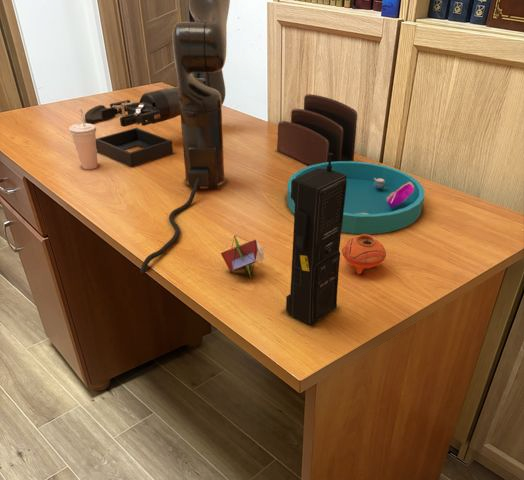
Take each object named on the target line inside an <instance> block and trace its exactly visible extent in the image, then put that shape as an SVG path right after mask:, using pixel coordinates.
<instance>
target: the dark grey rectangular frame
mask: <svg viewBox="0 0 524 480" xmlns="http://www.w3.org/2000/svg"><path fill="white" fill-rule="evenodd" d="M135 147H140V149H137V150H134V151H128V150H129V149H132V148H135ZM173 149H174V148H173V141H172V140H171V139H169V138H165V137H162V136H160V135H157V134H154V133H152V132H149V131H147V130H144V129H141V128H138V127H134V128H130V129H126V130H123V131H119V132H116V133H111V134H108V135H105V136H100V137H98V138H97V137H96V151H97V154H98V153H99V154H101V155H103V156H106V157H108V158H110V159H112V160H115V161H116V162H119V163H120V164H123V165H126V166H128V167H130V168H134V167H137V166H140V165H143V164H146V163H148V162H151V161H155V160H159V159H160V158H164V157H167V156H170V155H173V154H174V150H173Z"/></svg>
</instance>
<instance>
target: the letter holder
mask: <svg viewBox="0 0 524 480" xmlns="http://www.w3.org/2000/svg"><path fill="white" fill-rule="evenodd" d="M357 122H358V113H357V110H356V109H354V108H352V107H351V106H349V105H347V104H345V103H343V102H341V101H338V100H335V99H332V98H329V97H326V96H322V95H317V94H310V93H307V94H305V95H304V97H303V109H302V108H293V109H292V110H291V112H290V121H285V120H281V121H278V124H277V140H276V151H278V152H280V153H282V154H284V155H286V156H288V157H291V158H293V159H295V160H297V161H299V162H301V163H303V164H305V165H307V166H311V165H316V164H320V163H326V162H329V155H328V153H333V155H331V162H336V161H355V149H356V148H355V147H356V137H357V125H358V123H357Z"/></svg>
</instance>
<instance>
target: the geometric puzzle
mask: <svg viewBox="0 0 524 480" xmlns="http://www.w3.org/2000/svg"><path fill="white" fill-rule="evenodd" d="M237 238H239V236H238V234H237V235H236V234H234V236H233V238H231V239H230V241H232V244H231V248H230V249H228V250H225V251H224V250H222V252H220V254H221V257H222V259H223V261H224V263H225V265H226V267H227V269H228V271H229V273H233V274H235V272H236V271H237V270H240V269H242V268H246V271H247V272H248V277H249V278H251V277H252V275H253V273H255V271H256V270H255V271H253V270H254V269H252V271H251V269H250V265H252V264H253V267H252V268H254V267H255V264H256V263H258V262H260V264H259V265H261V264H262V262H263V261H264V260H265V251H264V247H263V246H262V245H261V244H260V243H259V241H258V240H257V239H255V238H254V239H252V240H251V241H248V240H246V239H247V237H245V236H244V237H241V239H242V240H244V241H247V242H245V243H242V244H240V243H239V241H238V239H237ZM245 238H246V239H245ZM229 243H230V242H229ZM229 243H227V245H228V244H229ZM234 243H235V246H234ZM233 246H234V247H233ZM225 248H227V246H225ZM225 248H224V249H225ZM258 268H259V266H257V268H256V269H258ZM234 271H235V272H234ZM239 274H240V275H242V276H245V277H247V274H244V273H241V272H239V271H238V272H236V275H239Z"/></svg>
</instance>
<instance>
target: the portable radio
mask: <svg viewBox="0 0 524 480" xmlns="http://www.w3.org/2000/svg"><path fill="white" fill-rule="evenodd" d="M328 155H329V164H328V165H327V169H325V168H317V169H315V170H313V171H310V172H308V173H306V174H304V175H302V176H299V177H297V178H295V179H293V180H292V182H291V199H292V200H293V201H294V203H295V214H293V215H294V218H293V236H292V254H291V255H292V256H291V275H290V291H289V294H288V295H286V297H285V299H286V301H285V312H287V313H288V315H290V316H291V317H293V318H295V319H297V320H299V321H301V322H303V323H305V324H307V325H309V326H313V325H315V324H316V323H317V322H319V321H320V320H322V319H323V318H325V317H326V316H327V315H328V314H330V313H332V312H333V311H334V310H335V309H336V308H337V307H338V285H339V274H340V273H339V272H340V262H341V252H340V246H341V235H342V232H341V229H342V222H343V213H344V204H345V195H346V185H347V180H346V178H347V176H346V175H345V174H342V173H339V172H336V171H333V170H332V166H331V155H333V153H328Z"/></svg>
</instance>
